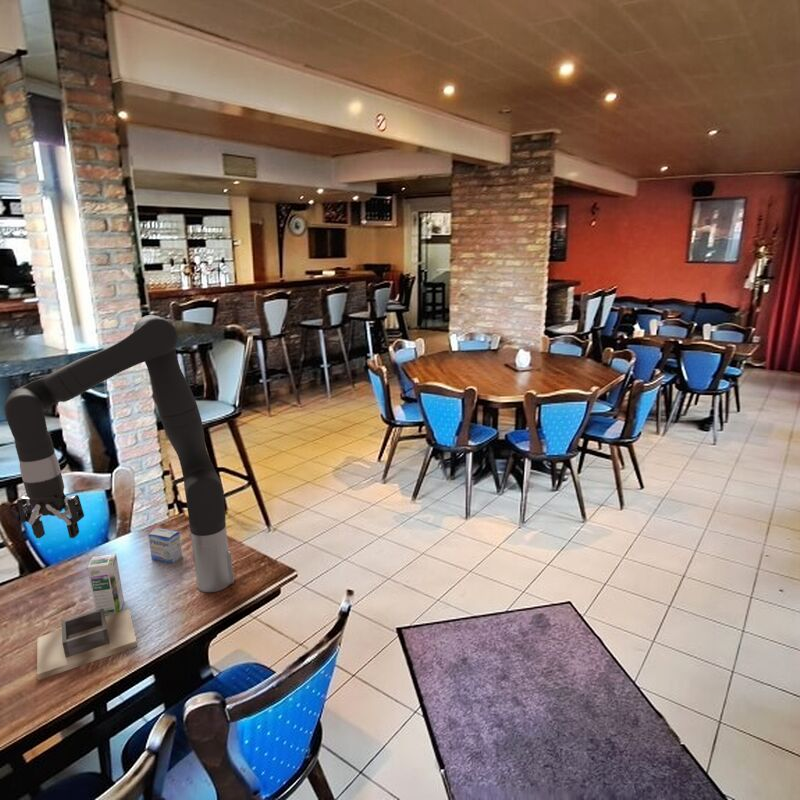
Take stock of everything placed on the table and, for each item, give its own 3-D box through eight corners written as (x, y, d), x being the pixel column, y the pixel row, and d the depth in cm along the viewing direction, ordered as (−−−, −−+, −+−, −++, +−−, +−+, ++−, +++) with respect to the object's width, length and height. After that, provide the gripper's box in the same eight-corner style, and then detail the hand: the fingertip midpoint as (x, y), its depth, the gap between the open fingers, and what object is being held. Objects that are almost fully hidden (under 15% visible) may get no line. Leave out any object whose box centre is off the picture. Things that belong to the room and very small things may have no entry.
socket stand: (129, 614, 145) (126, 595, 143) (137, 646, 133) (134, 626, 132) (38, 642, 135) (34, 623, 133) (38, 680, 123) (33, 659, 122)
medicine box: (151, 559, 169) (147, 534, 167) (161, 552, 173) (157, 527, 171) (173, 563, 167) (169, 537, 164) (183, 556, 171) (179, 530, 169)
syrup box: (96, 618, 143) (86, 568, 139) (101, 604, 149) (92, 555, 145) (120, 613, 145) (111, 564, 141) (124, 600, 150) (116, 552, 146)
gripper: (81, 467, 132) (95, 528, 137) (24, 467, 133) (40, 528, 138) (59, 481, 125) (75, 545, 130) (0, 481, 126) (18, 544, 131)
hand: (57, 536), depth 134 cm, fingers open, 8 cm apart
